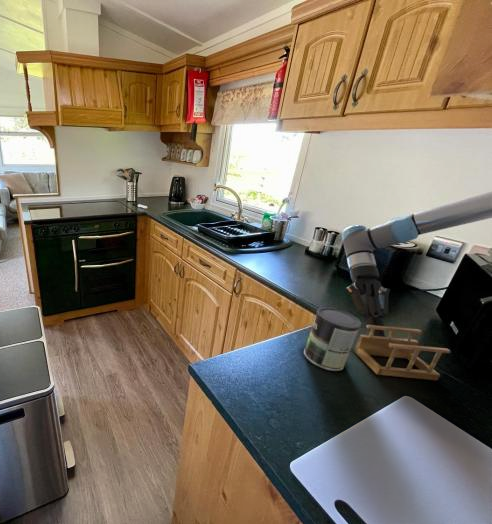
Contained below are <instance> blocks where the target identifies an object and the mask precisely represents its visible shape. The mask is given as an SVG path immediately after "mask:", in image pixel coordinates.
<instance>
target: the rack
mask: <svg viewBox="0 0 492 524" xmlns="http://www.w3.org/2000/svg"><path fill="white" fill-rule="evenodd" d="M365 328H366V329H367V330H370V331H369V333H368V334H360V335H359V337H358V340H357V342H356V345H355V347H354V349H353V352H354V353H355V354H356V355H357V356H358V357H359V358H360V359H361V360H362V361H363V362H364V363H365V364H366V365H367V366H368V367H369V368H370V369H371V370H372V371H373V373H374V374H376V375H378V376H388V377H389V376H390V377H400V378H408V379H418V380H419V379H420V380H429V381H438V379H439V378H440V377H441V374H440V373H439V372H437V371H436V370H435V367H436V365H437V363H438V361H439V359H440V357H441V356H442V354H450V353H451V350H450V349H448V348H445V347H437V346H436V347H435V346H424V345H419V340H417V339H413V337H414V335H415V334H422V333H423V331H422V330H421V329H418V328H407V327H399V326H398V327H397V326H396V327H395V326H387V325H386V326H385V325H384V326H376V325H368V324H366V325H365ZM375 329H377V330H383V331H388V332H389V334H388V335H387V336H385V337H380V336H373V334H374V332H375ZM395 332H400V333H408V335H407V338H401V337H393V336H394V334H395ZM420 352H430V353H431V352H432V353H435V355H434V356H433V358H432V360H431V363H430V364H428V363H427V362H425V360H423V359H421V358H420V357H419V354H420ZM372 356H378V357H386V358H387V357H389V358H388V360H387V362H386V364H385V366H382V365H380V363H378V362H377V361H376V360H375V359H374V358H373V357H372ZM395 358H396V359H397V358H398V359H406V360H408V361H409V362H408V364H407V365H406V368H404V367H393V366H392V364H393V362H394V360H395ZM413 366H415V367H416V368H417V369H413Z"/></svg>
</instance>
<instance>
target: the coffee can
mask: <svg viewBox="0 0 492 524" xmlns="http://www.w3.org/2000/svg"><path fill="white" fill-rule="evenodd" d="M361 327H362V322H361V320H360V319H359V318H358V317H357V316H354V315H353V314H351V313H349V312H347V311H345V310H342V309H340V308H339V309H338V308H334V307H329V306H328V307H319V308H317V310H316V313H315V317H314V321H313V323H312V326H311V330H310V333H309V334H308V335H309V336H308V339H307V342H306V344H305V347H304V350H303V356H304V357H305V358H306V359H307V360H308V361H309V362H310V363H311V364H313V365H315V366H317V367H318V368H321V369H324V370H326V371H332V372H339V371H342V370H344V368H345V366H346V362H347V360H348V358H349V355H350V352H351V349H352V347H353V345H354V342H355V340H356V337H357V335H358V332H359V330H360V328H361Z"/></svg>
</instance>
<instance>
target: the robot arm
mask: <svg viewBox="0 0 492 524" xmlns="http://www.w3.org/2000/svg"><path fill="white" fill-rule="evenodd" d="M489 219H492V191H490V192H486V193H482V194H478V195H476V196H471V197H468V198H464V199H460V200H457V201H454V202H451V203H447V204H446V203H445V204H443V205H440V206H439V205H438V206H437V207H432V208H429V209H426V210H425V209H424V210H422V211H418V212H414V213H411V214H408V215H404V216H399V217H395V218H392V219H390V220H389V221H387V222H386V223H382V224H379V225H376V226H373V227H369V228H367V227H366V226H365V225H360V224H357V225H351V226H348V227H347V228H345V229H344V230H343V231H342V232H341V237H342V245H343V248H344V253H345V256H346V261H347V266H348V269H349V275H350V280H351V281H352V282H351V284H350V285H349V286H347V287H345V290H346V291H347V293H348V294H349V295H350V297H351V300H352V302H353V304H354V306H355V308H356V310H357V313H358V315H359V316H361V317H363V319H365V320H367V325H376V326H385V324H384V318H386V317H388V316H389V294H390V292H391V289H390V288H386V287H383V286H382V283H381V282H380V281H379V278H380V274H379V271H378V270H379V269H378V267H377V261H376V258H375V254H374V251H375V250H379V249H382V248H386V247H391V246H395V245H399V244H405V243H408V242H410V241H414V240H417V239H418V237H419V236H420V235H424V234H428V233H429V234H430V233H433V232H438V231H442V230H447V229H450V228H454V227H459V226H463V225H468V224H472V223H476V222H479V221H484V220H489ZM373 336H380V337H386V335H385V330H377V329H375V332H374V334H373Z"/></svg>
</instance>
